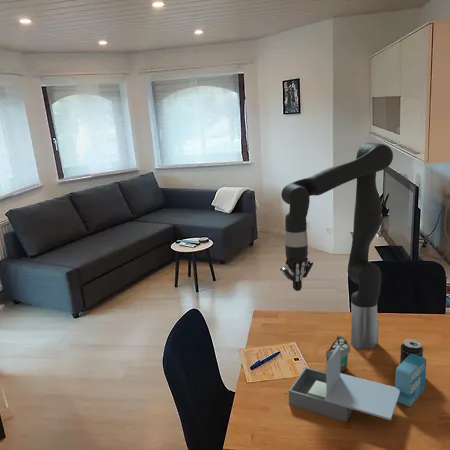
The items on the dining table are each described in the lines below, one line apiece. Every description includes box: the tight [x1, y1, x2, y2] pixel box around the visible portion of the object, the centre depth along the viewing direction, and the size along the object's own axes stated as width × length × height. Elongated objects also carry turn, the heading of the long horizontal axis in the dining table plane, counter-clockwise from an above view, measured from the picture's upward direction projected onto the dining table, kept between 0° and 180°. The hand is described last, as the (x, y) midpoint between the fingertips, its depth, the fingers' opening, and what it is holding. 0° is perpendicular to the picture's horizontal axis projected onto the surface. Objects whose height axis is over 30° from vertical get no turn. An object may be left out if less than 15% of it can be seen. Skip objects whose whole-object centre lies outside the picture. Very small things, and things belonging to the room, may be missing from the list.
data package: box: [394, 354, 427, 408], centre depth 136 cm, size 12×4×12 cm, turn 135°
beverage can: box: [399, 338, 424, 365], centre depth 146 cm, size 7×7×12 cm
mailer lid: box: [324, 345, 401, 421], centre depth 130 cm, size 19×15×12 cm
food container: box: [325, 335, 351, 374], centre depth 152 cm, size 12×6×10 cm, turn 148°
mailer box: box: [288, 366, 354, 423], centre depth 138 cm, size 18×14×5 cm
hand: (297, 290), depth 155 cm, fingers closed
